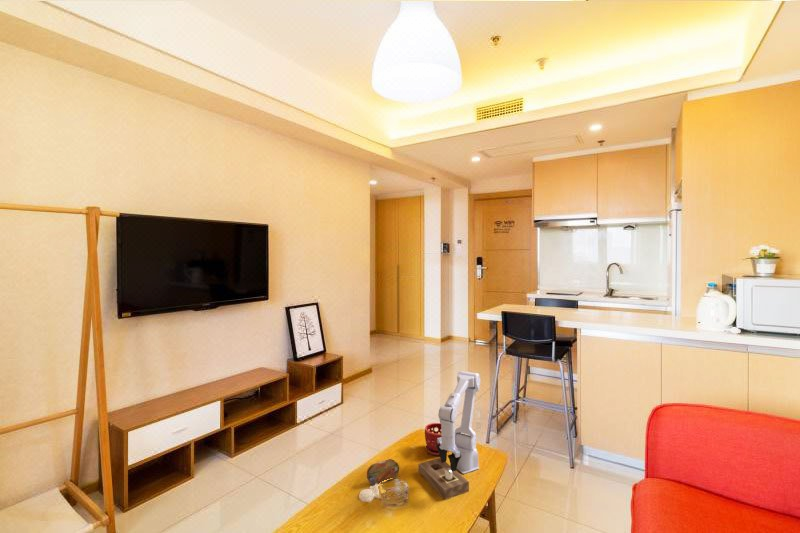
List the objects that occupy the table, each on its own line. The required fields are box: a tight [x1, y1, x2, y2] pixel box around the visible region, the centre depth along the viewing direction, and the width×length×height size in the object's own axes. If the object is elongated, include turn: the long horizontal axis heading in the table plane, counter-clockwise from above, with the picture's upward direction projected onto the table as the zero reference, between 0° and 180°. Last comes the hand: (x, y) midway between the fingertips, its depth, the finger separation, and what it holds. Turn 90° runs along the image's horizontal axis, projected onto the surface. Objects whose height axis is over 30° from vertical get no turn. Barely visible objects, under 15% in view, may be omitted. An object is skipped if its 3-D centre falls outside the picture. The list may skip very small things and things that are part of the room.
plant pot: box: [424, 422, 449, 456], centre depth 189 cm, size 13×13×12 cm
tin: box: [366, 458, 400, 486], centre depth 165 cm, size 15×3×8 cm, turn 116°
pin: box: [445, 468, 453, 482], centre depth 159 cm, size 3×3×7 cm
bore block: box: [418, 457, 470, 500], centre depth 164 cm, size 12×22×4 cm, turn 26°
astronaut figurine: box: [358, 484, 380, 503], centre depth 156 cm, size 9×12×3 cm
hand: (448, 466), depth 159 cm, fingers open, 7 cm apart
